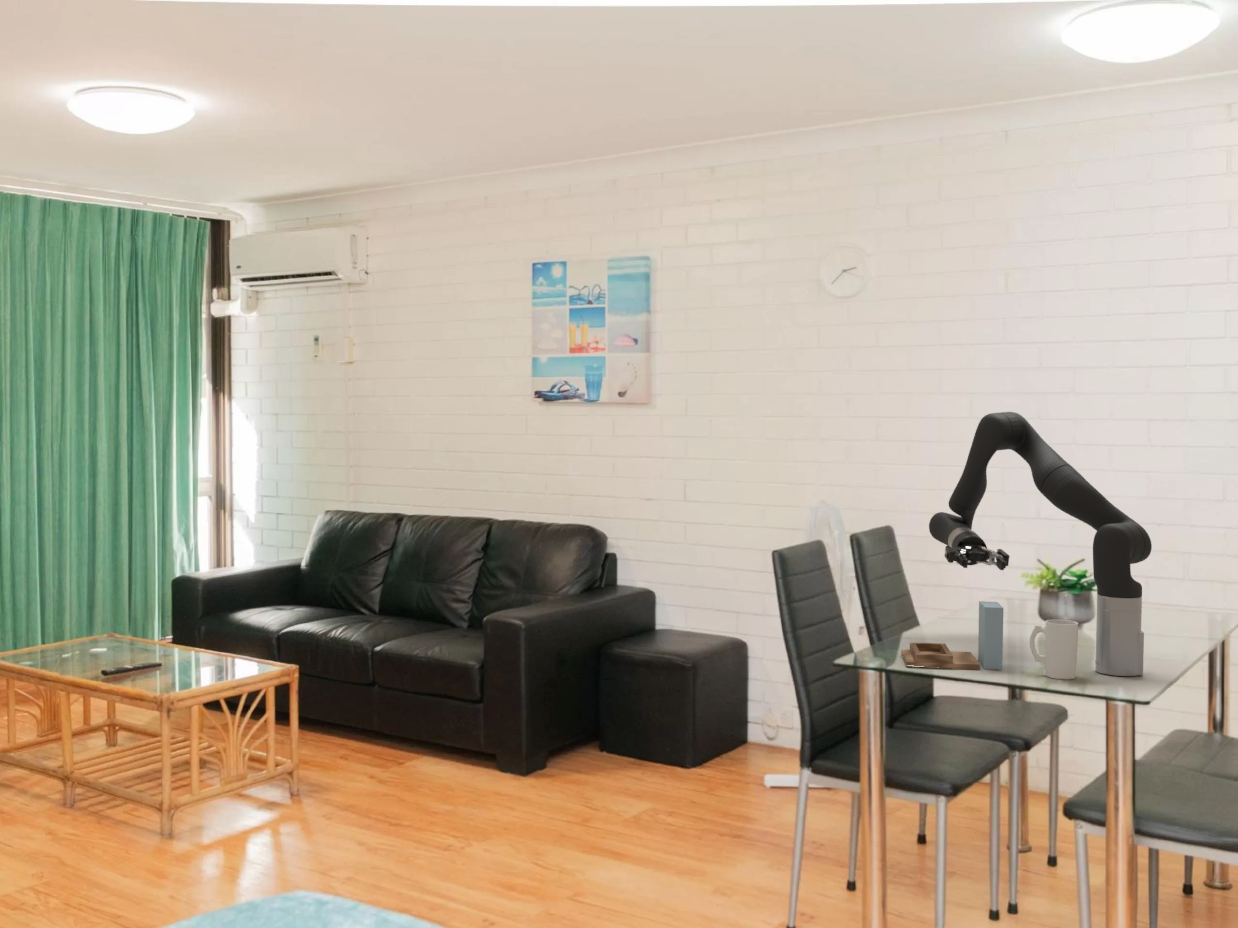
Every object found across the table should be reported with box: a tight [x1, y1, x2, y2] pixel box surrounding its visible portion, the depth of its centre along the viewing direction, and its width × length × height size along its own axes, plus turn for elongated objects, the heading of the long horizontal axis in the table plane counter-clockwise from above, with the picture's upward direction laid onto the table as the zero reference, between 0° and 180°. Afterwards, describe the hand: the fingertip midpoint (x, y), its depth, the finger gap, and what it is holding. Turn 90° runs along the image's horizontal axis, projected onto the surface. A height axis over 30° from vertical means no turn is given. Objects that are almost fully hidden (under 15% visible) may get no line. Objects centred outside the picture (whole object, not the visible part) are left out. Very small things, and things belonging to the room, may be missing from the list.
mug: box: [1029, 619, 1079, 680], centre depth 267 cm, size 10×7×12 cm, turn 60°
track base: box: [900, 641, 981, 671], centre depth 282 cm, size 16×15×3 cm
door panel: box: [977, 600, 1004, 671], centre depth 278 cm, size 4×9×14 cm, turn 172°
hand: (984, 564), depth 285 cm, fingers open, 8 cm apart
